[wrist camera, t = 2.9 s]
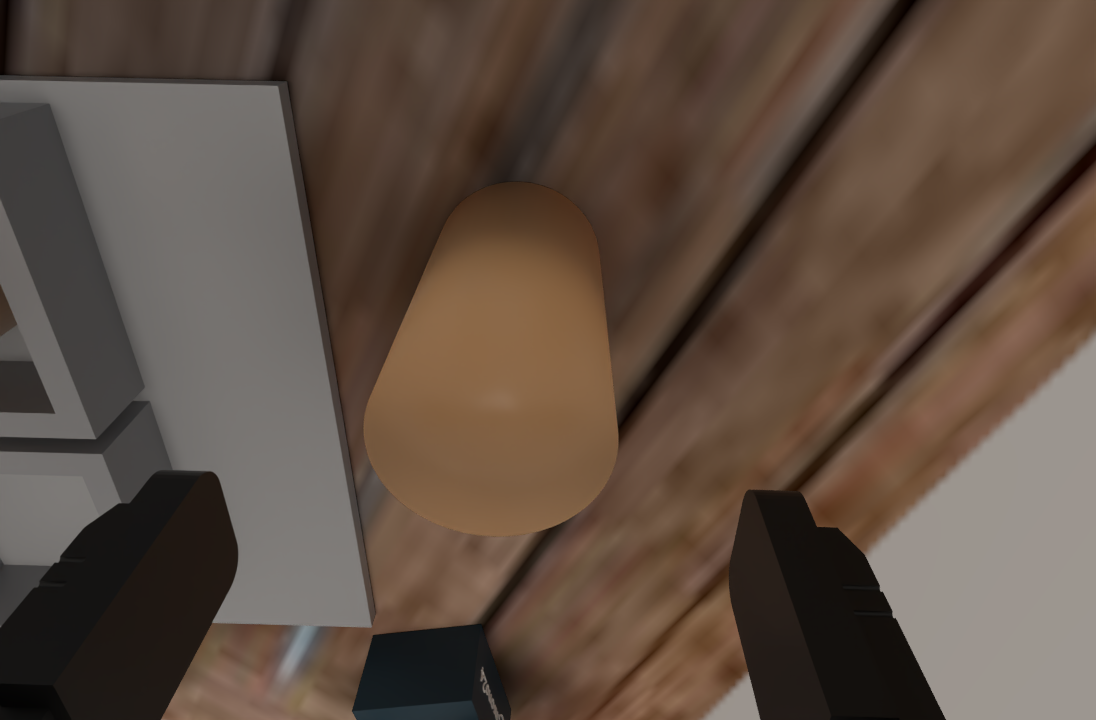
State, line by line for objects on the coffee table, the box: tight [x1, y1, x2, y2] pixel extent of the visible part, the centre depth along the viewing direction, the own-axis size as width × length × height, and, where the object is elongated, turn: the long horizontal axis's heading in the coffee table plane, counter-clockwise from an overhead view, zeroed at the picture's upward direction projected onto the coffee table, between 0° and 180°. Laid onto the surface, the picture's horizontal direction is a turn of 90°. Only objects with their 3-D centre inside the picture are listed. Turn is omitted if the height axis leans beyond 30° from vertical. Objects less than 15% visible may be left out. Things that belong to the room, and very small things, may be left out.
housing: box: [0, 75, 375, 627], centre depth 18 cm, size 19×15×9 cm
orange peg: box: [363, 182, 618, 537], centre depth 15 cm, size 4×4×8 cm
